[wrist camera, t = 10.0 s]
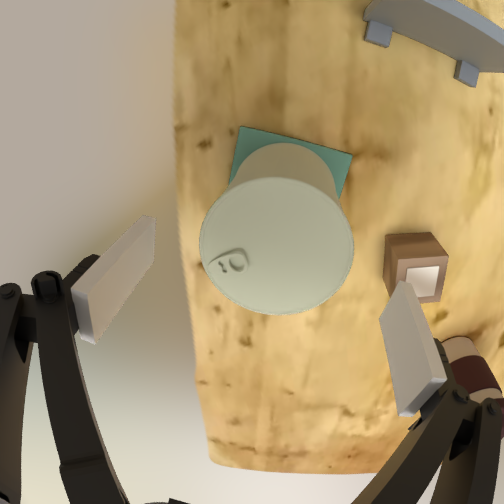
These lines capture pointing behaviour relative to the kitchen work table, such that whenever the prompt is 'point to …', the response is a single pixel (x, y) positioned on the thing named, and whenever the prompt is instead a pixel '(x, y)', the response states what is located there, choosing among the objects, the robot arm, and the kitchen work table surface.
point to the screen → (441, 32)
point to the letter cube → (415, 264)
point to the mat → (257, 139)
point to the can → (278, 233)
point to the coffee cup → (473, 372)
